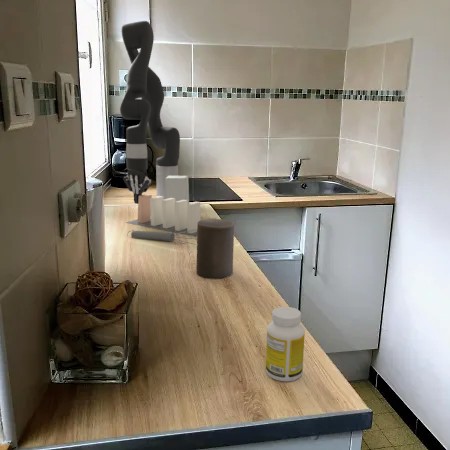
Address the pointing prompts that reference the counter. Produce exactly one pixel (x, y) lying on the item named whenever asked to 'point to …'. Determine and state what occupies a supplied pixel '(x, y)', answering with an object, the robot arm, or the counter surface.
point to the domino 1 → (144, 208)
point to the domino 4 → (181, 215)
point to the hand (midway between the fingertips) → (138, 203)
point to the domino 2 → (156, 210)
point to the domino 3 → (168, 212)
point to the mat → (161, 227)
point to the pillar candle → (215, 248)
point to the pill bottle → (285, 345)
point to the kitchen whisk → (157, 235)
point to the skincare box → (177, 188)
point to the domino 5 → (193, 216)
